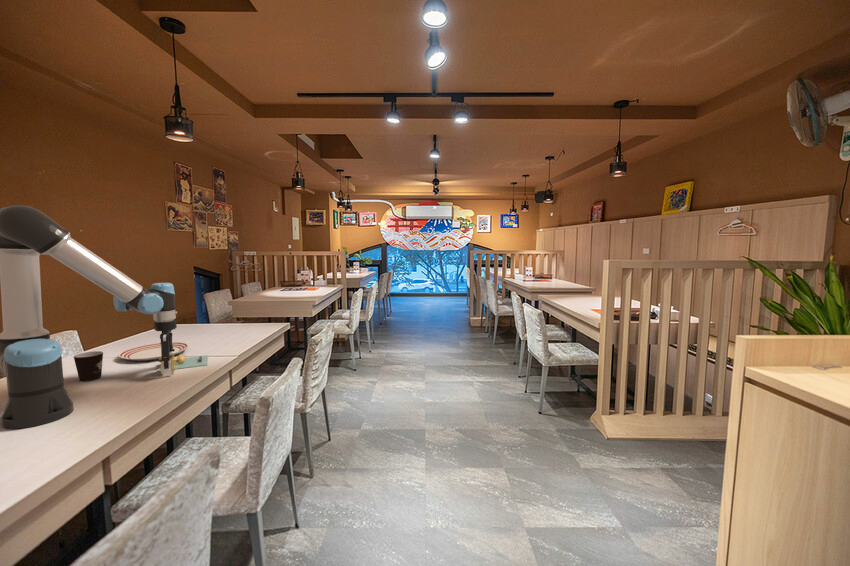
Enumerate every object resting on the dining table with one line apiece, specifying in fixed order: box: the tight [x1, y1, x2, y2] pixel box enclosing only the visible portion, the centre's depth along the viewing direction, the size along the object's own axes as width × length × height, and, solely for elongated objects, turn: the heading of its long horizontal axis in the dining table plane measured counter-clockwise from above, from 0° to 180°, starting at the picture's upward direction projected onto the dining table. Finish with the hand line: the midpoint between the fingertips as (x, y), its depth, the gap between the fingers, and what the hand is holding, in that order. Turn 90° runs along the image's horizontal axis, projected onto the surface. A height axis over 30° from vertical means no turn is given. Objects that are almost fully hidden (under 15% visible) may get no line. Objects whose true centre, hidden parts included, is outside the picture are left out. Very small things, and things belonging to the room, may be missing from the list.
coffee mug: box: [73, 350, 104, 383], centre depth 145 cm, size 12×9×10 cm
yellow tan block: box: [158, 355, 176, 377], centre depth 151 cm, size 6×5×7 cm
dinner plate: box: [118, 341, 190, 362], centre depth 176 cm, size 27×27×3 cm
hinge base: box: [157, 353, 209, 373], centre depth 164 cm, size 16×18×4 cm
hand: (168, 371), depth 152 cm, fingers open, 11 cm apart
